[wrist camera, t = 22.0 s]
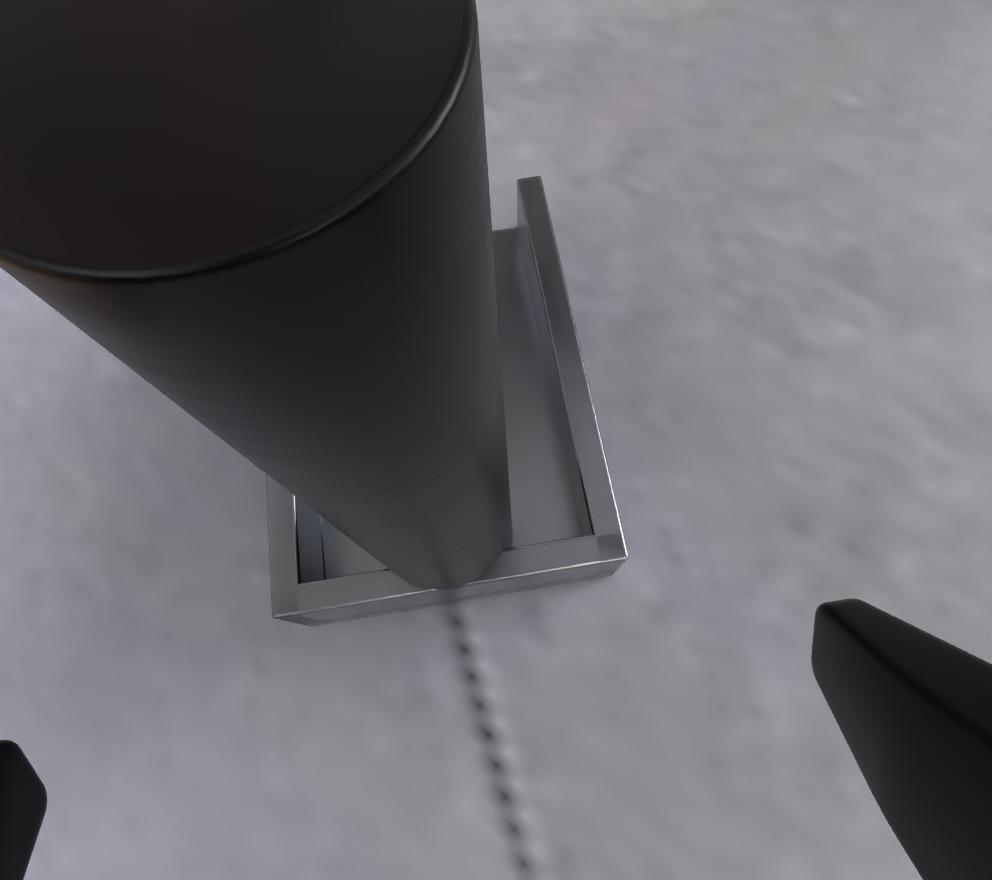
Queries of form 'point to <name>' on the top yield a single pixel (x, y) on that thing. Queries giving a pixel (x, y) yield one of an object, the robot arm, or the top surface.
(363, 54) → the black cylinder on tray
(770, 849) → the top surface
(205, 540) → the top surface
